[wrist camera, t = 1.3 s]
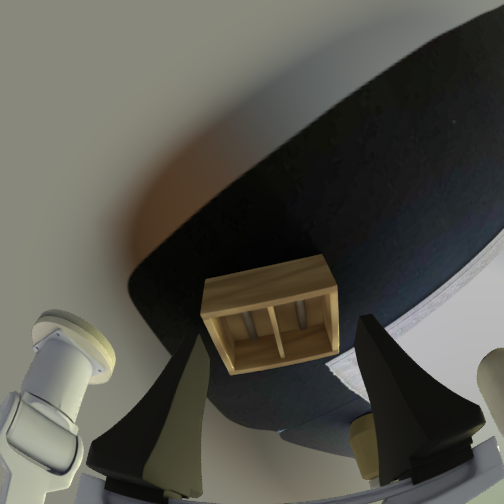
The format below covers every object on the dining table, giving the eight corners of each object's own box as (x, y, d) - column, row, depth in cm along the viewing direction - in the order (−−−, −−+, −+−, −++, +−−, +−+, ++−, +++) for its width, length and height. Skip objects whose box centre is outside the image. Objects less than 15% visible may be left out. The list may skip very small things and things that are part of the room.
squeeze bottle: (351, 432, 44) (369, 508, 28) (339, 422, 40) (359, 510, 25) (388, 415, 42) (413, 491, 26) (381, 403, 38) (409, 492, 23)
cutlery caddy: (205, 278, 24) (199, 314, 20) (322, 253, 23) (337, 285, 19) (230, 340, 27) (230, 375, 24) (327, 320, 27) (339, 353, 23)
